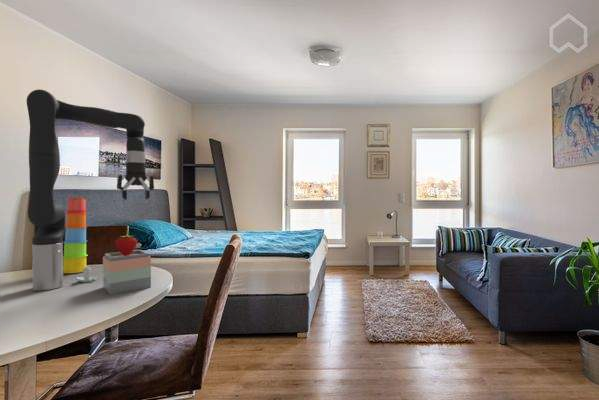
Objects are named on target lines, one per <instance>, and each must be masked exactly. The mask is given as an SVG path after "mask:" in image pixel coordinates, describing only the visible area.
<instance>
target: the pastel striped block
mask: <svg viewBox="0 0 599 400" xmlns="http://www.w3.org/2000/svg"><path fill="white" fill-rule="evenodd" d="M151 257H152V256H151V255H150V252H149V253H148V252H147V251H145V250H142V249H134V250H133V251H132V253H131V254H130V255H127V256H124V255H123V254H122V253H121V252H120V251H117V252H108V253H104V256H102V282H103V283H102V286H103V289H104V290H105V291H106V292H107V293H108V294H109V295H115V294H121V293H127V292H131V291H132V292H133V291H137V290H142V289H147V288H148V287H149V288H152V265H151V263H152V261H151V260H152V259H151Z"/></svg>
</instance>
